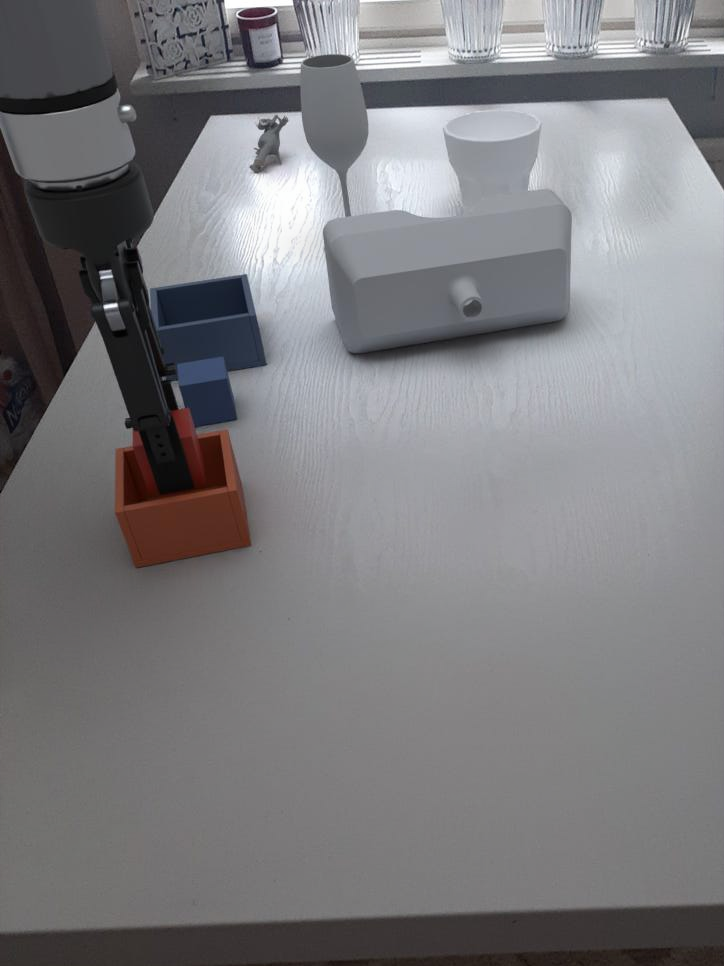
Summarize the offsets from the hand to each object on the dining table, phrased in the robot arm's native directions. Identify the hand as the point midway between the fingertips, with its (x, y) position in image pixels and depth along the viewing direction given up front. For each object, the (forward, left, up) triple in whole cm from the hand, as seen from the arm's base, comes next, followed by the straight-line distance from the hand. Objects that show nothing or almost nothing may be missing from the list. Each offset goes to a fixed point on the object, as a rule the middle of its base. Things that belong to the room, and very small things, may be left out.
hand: (175, 471), depth 79 cm
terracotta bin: (0, 0, -5) cm, 5 cm away
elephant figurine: (+17, +89, -6) cm, 91 cm away
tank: (+30, +26, -6) cm, 40 cm away
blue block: (+3, +18, -5) cm, 19 cm away
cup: (+43, +57, -6) cm, 72 cm away
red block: (0, 0, 0) cm, 0 cm away
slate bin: (+4, +31, -5) cm, 32 cm away
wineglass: (+23, +53, -6) cm, 58 cm away
